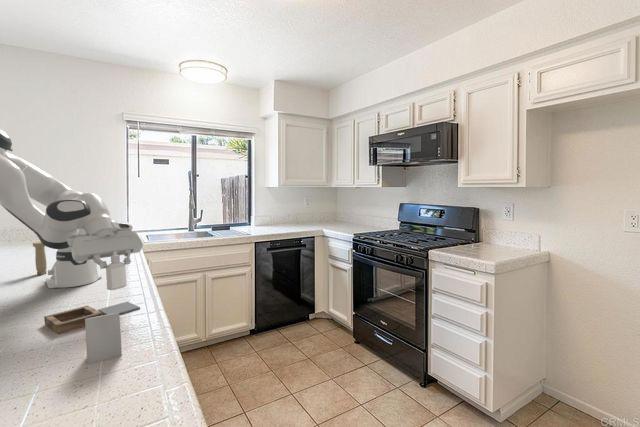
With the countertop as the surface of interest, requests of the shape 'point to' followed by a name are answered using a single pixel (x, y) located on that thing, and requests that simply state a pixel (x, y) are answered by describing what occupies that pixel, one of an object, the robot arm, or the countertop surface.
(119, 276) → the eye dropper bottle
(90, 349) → the white rectangular box
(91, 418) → the countertop surface
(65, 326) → the block
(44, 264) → the handle
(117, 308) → the coaster
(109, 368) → the countertop surface
